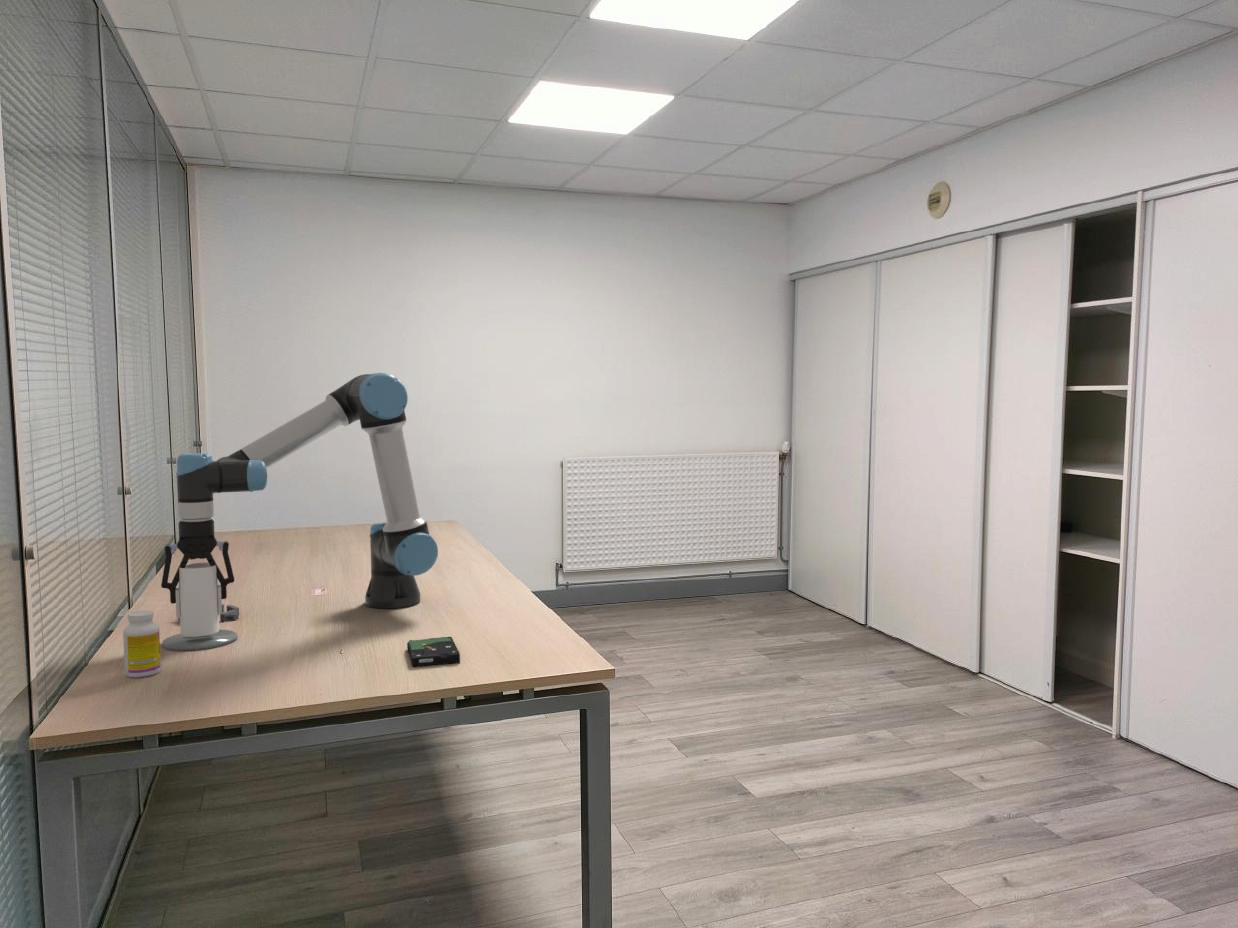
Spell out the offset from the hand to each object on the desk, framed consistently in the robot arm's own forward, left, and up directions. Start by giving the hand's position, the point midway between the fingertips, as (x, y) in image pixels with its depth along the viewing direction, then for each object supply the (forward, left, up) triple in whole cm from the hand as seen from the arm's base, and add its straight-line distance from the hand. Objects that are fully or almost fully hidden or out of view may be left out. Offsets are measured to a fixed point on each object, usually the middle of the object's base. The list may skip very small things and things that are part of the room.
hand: (199, 614), depth 208 cm
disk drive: (-59, -3, -7) cm, 59 cm away
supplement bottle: (-6, +24, -7) cm, 26 cm away
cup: (0, 0, -4) cm, 4 cm away
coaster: (0, 0, -6) cm, 6 cm away
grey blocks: (+14, -20, -6) cm, 25 cm away
